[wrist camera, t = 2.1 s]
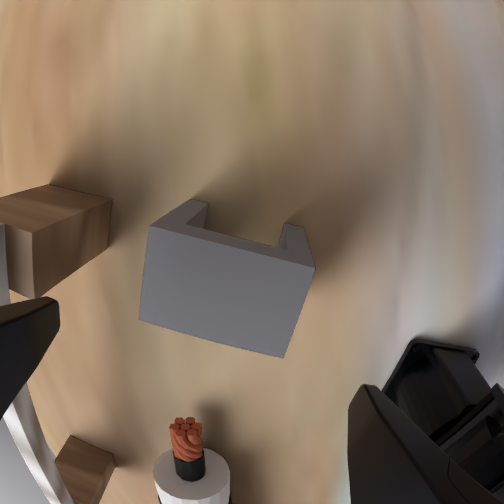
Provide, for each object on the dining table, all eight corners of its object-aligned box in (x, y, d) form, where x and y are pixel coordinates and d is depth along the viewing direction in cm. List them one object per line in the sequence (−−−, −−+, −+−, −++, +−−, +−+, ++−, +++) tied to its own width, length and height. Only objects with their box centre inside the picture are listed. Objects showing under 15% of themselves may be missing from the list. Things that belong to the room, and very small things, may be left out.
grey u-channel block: (190, 199, 16) (149, 225, 11) (303, 227, 16) (315, 268, 11) (177, 268, 18) (139, 319, 12) (282, 295, 18) (283, 358, 12)
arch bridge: (47, 184, 17) (-60, 217, 8) (112, 199, 17) (5, 246, 9) (74, 449, 26) (43, 505, 18) (114, 467, 26) (88, 528, 18)
